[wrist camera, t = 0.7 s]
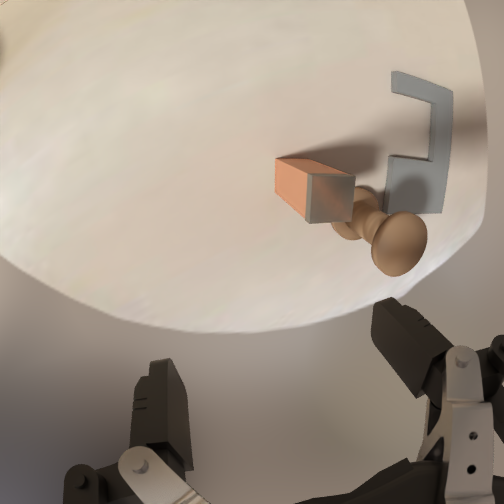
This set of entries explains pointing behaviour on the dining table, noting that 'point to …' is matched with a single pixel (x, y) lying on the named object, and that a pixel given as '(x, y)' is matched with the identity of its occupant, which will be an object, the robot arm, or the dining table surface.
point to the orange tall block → (315, 190)
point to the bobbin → (385, 234)
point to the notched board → (436, 168)
